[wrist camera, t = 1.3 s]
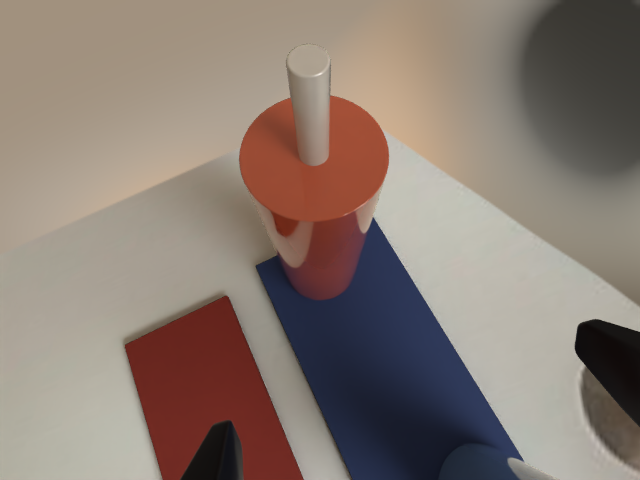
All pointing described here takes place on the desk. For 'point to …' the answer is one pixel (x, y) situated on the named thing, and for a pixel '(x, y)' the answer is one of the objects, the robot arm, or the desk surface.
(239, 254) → the desk surface
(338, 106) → the orange red candle
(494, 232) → the desk surface
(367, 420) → the navy mat
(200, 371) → the oxblood mat
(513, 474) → the slate blue jar
